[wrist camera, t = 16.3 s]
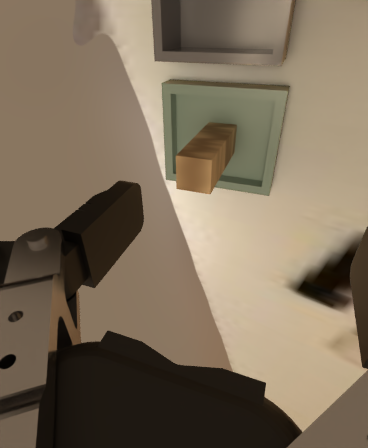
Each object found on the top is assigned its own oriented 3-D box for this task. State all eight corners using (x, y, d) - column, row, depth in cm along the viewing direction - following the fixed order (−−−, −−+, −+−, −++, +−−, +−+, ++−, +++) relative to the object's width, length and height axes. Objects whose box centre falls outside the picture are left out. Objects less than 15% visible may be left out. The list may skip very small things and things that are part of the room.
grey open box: (300, -30, 31) (297, -39, 25) (285, 58, 35) (280, 66, 30) (175, -24, 35) (149, -31, 29) (176, 55, 39) (154, 61, 34)
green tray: (289, 86, 37) (288, 90, 35) (271, 186, 45) (268, 195, 43) (170, 79, 41) (161, 83, 39) (172, 171, 49) (165, 179, 47)
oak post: (237, 124, 41) (211, 160, 31) (234, 152, 43) (210, 194, 33) (208, 122, 42) (175, 155, 32) (207, 149, 44) (176, 188, 34)
